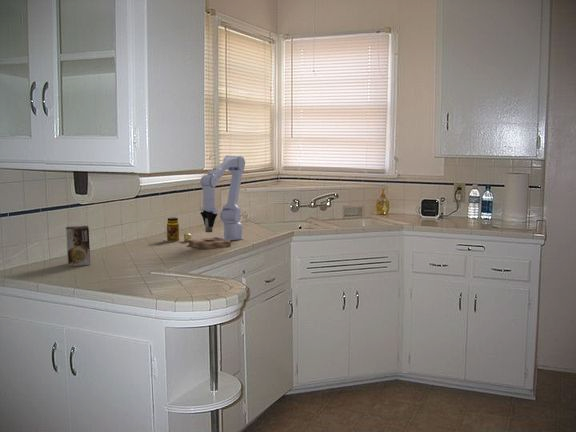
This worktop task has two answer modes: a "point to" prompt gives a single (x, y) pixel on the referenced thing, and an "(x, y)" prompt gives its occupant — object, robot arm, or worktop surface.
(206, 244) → the hole block
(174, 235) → the condiment
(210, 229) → the grey cylinder
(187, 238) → the short stub
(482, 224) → the worktop surface
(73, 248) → the coffee box
